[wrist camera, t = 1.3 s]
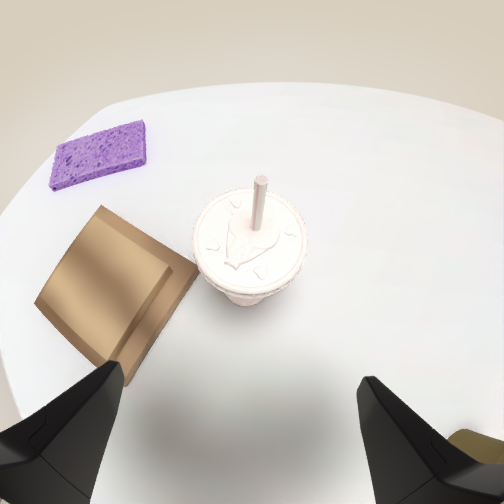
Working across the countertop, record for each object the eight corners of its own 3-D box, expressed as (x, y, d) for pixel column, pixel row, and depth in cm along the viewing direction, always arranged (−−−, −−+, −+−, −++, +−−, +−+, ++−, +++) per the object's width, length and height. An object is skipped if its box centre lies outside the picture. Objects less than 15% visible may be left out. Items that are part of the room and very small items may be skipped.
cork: (426, 466, 17) (500, 490, 7) (460, 419, 19) (537, 423, 9) (450, 485, 16) (516, 506, 6) (480, 442, 18) (549, 448, 8)
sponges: (62, 153, 30) (57, 144, 28) (147, 127, 32) (144, 117, 30) (54, 195, 28) (47, 186, 26) (147, 167, 29) (143, 157, 27)
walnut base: (126, 385, 20) (112, 387, 17) (42, 307, 22) (24, 299, 19) (200, 271, 24) (195, 259, 22) (106, 212, 26) (95, 196, 23)
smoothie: (296, 272, 25) (352, 172, 12) (260, 336, 23) (290, 298, 10) (233, 237, 26) (229, 117, 13) (193, 297, 24) (143, 214, 11)
